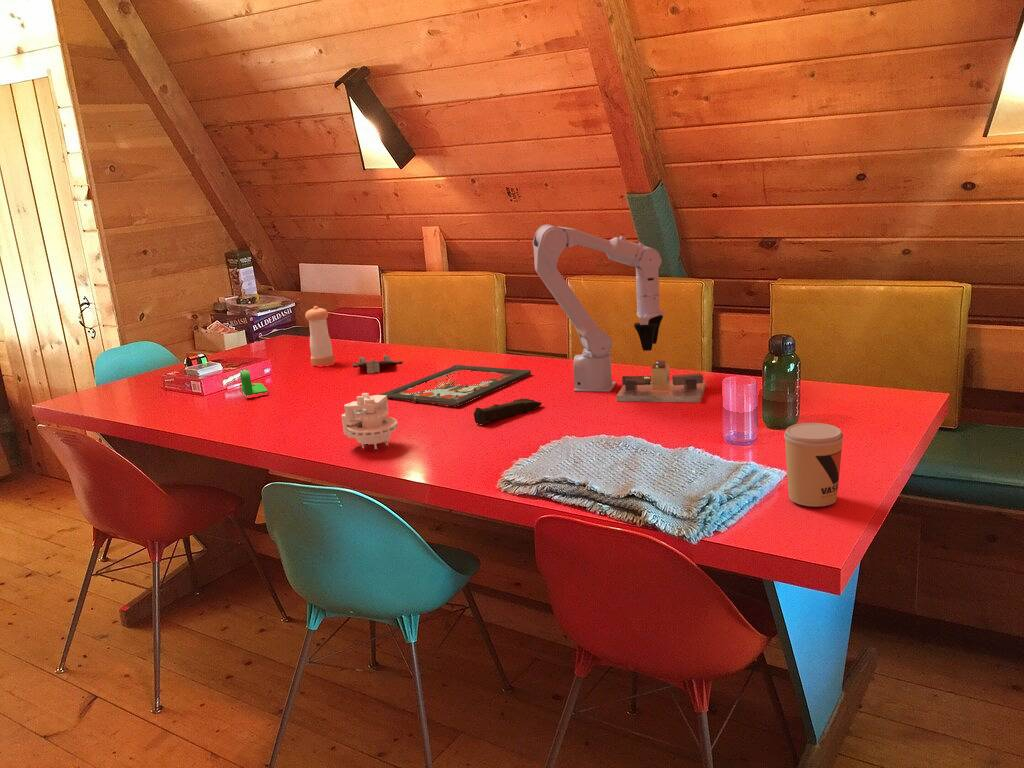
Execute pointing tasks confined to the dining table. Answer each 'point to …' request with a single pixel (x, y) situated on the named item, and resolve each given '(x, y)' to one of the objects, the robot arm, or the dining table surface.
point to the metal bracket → (374, 363)
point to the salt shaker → (319, 337)
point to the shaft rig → (679, 390)
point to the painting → (454, 393)
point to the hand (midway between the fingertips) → (649, 346)
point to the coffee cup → (813, 463)
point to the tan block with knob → (660, 376)
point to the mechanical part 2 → (368, 420)
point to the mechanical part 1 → (250, 384)
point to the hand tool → (504, 410)
